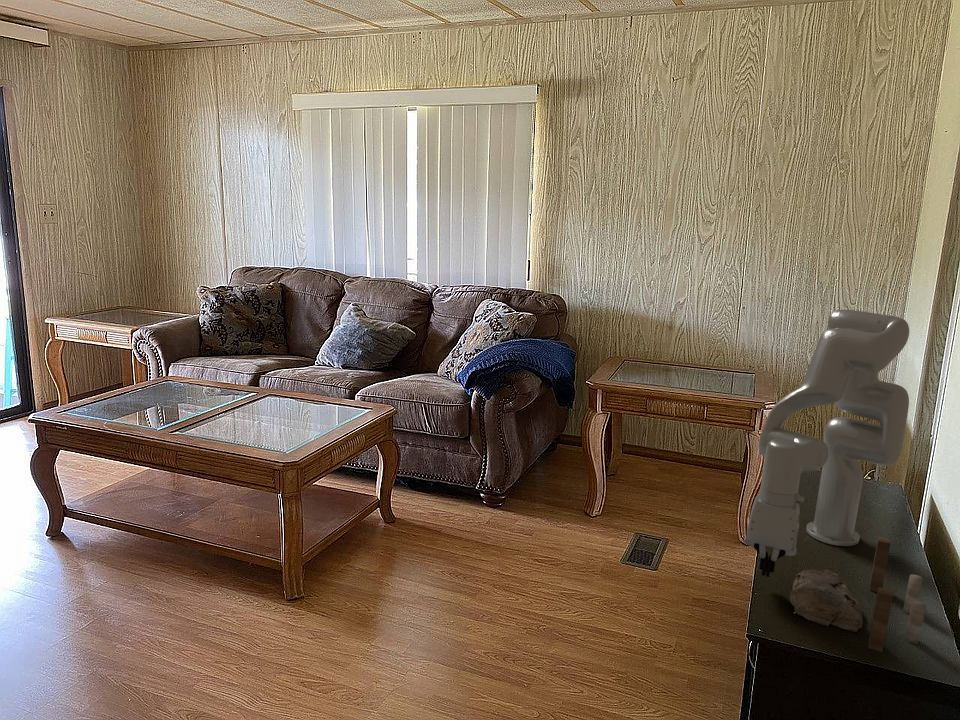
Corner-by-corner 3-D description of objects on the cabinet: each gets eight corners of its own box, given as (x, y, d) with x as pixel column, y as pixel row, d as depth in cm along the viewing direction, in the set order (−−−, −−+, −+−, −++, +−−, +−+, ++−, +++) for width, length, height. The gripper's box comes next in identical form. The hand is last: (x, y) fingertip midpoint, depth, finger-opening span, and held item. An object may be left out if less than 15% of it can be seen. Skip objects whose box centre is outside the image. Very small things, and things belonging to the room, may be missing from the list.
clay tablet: (790, 575, 173) (786, 616, 155) (794, 555, 172) (790, 595, 154) (857, 591, 168) (861, 637, 150) (861, 572, 167) (866, 615, 149)
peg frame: (869, 585, 169) (878, 536, 167) (914, 596, 166) (924, 546, 163) (868, 648, 146) (878, 592, 143) (920, 662, 142) (932, 606, 139)
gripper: (816, 498, 162) (803, 576, 166) (744, 483, 168) (733, 558, 172) (814, 510, 155) (800, 590, 159) (739, 494, 162) (728, 571, 165)
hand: (765, 573), depth 165 cm, fingers closed
